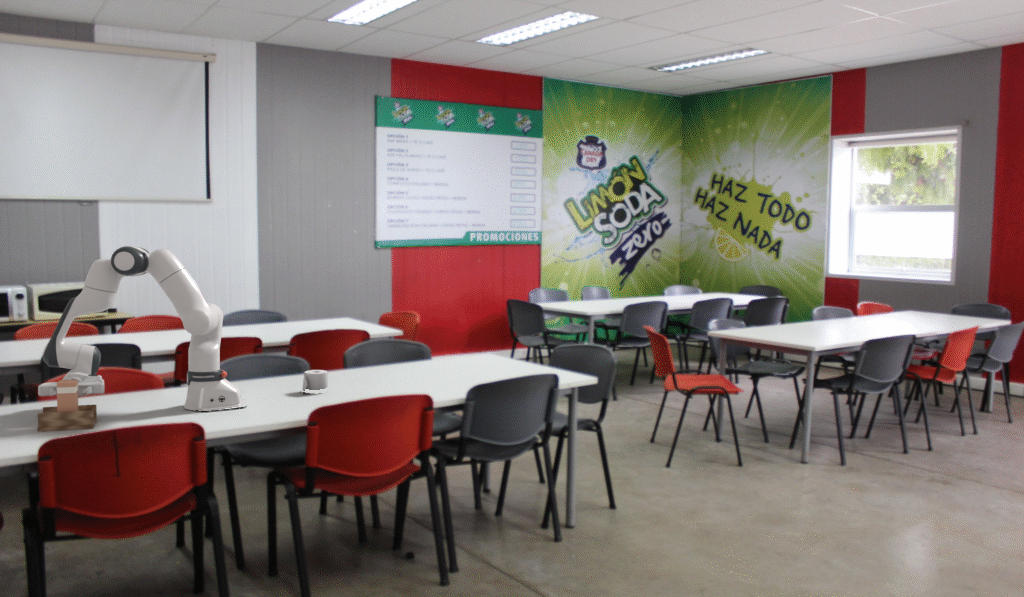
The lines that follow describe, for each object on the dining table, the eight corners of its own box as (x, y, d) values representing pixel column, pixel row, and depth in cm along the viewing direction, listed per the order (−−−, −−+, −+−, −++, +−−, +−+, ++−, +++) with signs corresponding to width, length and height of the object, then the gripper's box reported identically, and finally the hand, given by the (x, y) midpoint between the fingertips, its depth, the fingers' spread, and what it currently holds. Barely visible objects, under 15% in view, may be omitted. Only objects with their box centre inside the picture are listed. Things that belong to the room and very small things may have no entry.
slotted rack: (96, 420, 274) (96, 403, 273) (92, 428, 263) (92, 411, 262) (44, 423, 268) (43, 406, 267) (37, 431, 257) (37, 414, 256)
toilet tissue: (298, 395, 322) (298, 375, 321) (309, 389, 335) (309, 369, 335) (319, 396, 321) (319, 375, 321) (330, 390, 334) (330, 370, 334)
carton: (78, 419, 269) (78, 379, 267) (76, 423, 263) (75, 382, 262) (60, 420, 267) (59, 380, 265) (57, 424, 261) (56, 383, 260)
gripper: (40, 377, 276) (33, 385, 263) (106, 375, 284) (102, 382, 271) (41, 395, 276) (34, 403, 264) (106, 392, 284) (102, 400, 272)
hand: (69, 392), depth 267 cm, fingers open, 8 cm apart
